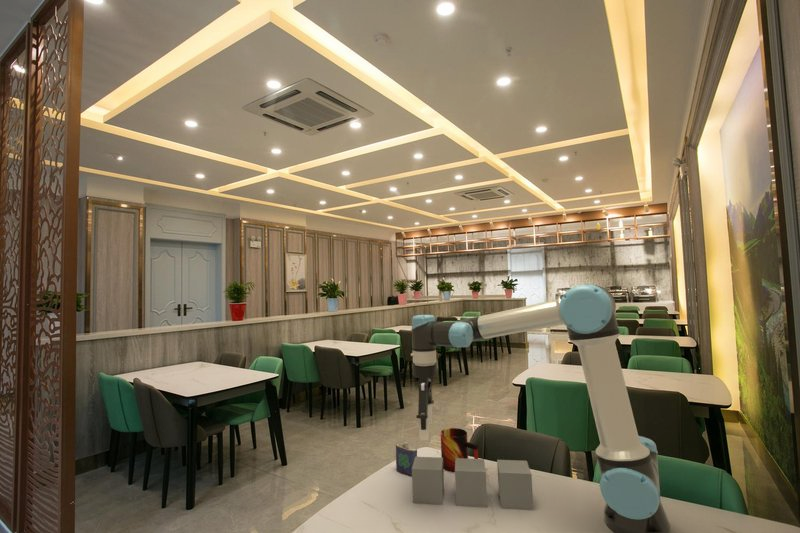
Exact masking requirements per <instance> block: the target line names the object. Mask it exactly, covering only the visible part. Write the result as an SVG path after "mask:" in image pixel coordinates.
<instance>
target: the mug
mask: <svg viewBox="0 0 800 533" xmlns="http://www.w3.org/2000/svg"><path fill="white" fill-rule="evenodd" d="M440 449H441V450H440V452H441V453H440V454H441V455H440V456H441V457H440V458H443V471H446V472H450V473H455V460H456V458H465V459H469V451H468V450H469V449H472V450H473V455H474V456H473V459H479V449H478V444H476V443H473V442H469V441H468V432H467V431H466V430H465V429H463V428H455V427H450V428H445V429H442V430H440Z"/></svg>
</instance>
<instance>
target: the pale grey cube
mask: <svg viewBox="0 0 800 533" xmlns="http://www.w3.org/2000/svg"><path fill="white" fill-rule="evenodd" d="M496 460H497V461H496V464H497V466H496V467H497V484H498V487H497V488H498V496H499V502H500V509H508V510H509V509H513V510H514V509H515V510H529V511H534V497H533V478H532V477H533V476H532V472H531V469H530V466H529V463H528V461H527V460H517V459H516V460H515V459H514V460H513V459H512V460H511V459H496Z"/></svg>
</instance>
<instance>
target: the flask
mask: <svg viewBox="0 0 800 533" xmlns="http://www.w3.org/2000/svg"><path fill="white" fill-rule="evenodd" d="M402 443H403V444H402ZM408 445H409V442H408V441H404V442H401V443H397V444H396V445H395V458H396V459H395V460H396V461H395V463H396V464H395V469H396V470H395V471H396V472H397V473H400V474H402V475H405V476H409V477H412V466H413V463H414V460H415V457H418V449H417V448H415V447H411V446H408Z"/></svg>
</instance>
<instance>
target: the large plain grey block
mask: <svg viewBox="0 0 800 533" xmlns="http://www.w3.org/2000/svg"><path fill="white" fill-rule="evenodd" d="M444 472H445V470H444V469H443V458H441V457H435V456H434V457H433V456H431V457H430V456H417V457H415V460H414V463H413V466H412V476H411V484H412V485H411V486H412V489H411V490H412V491H411V492H412V504H424V505H437V506H438V505H441V506H443V505H444V497H445V496H444V493H445V480H444V479H445V478H444V476H445V475H444Z"/></svg>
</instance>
